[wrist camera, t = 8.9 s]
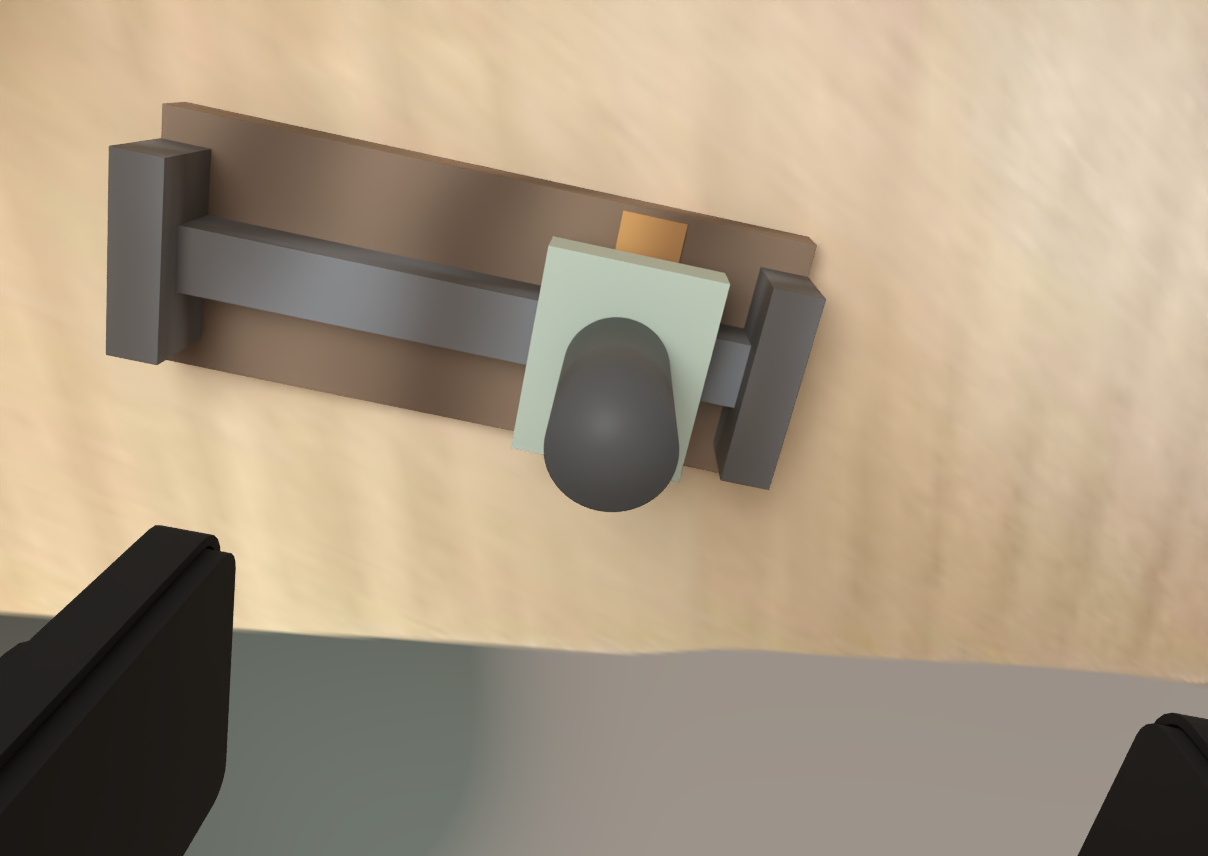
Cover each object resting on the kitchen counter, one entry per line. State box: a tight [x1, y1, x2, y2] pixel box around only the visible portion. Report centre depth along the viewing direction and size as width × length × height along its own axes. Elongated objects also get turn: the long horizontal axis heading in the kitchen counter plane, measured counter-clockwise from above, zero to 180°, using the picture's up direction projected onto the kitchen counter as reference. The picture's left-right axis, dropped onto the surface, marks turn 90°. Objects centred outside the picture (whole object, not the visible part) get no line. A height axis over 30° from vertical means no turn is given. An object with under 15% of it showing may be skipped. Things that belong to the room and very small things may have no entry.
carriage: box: [511, 236, 730, 512], centre depth 25 cm, size 5×6×10 cm
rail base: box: [106, 102, 826, 490], centre depth 29 cm, size 20×8×4 cm, turn 78°
